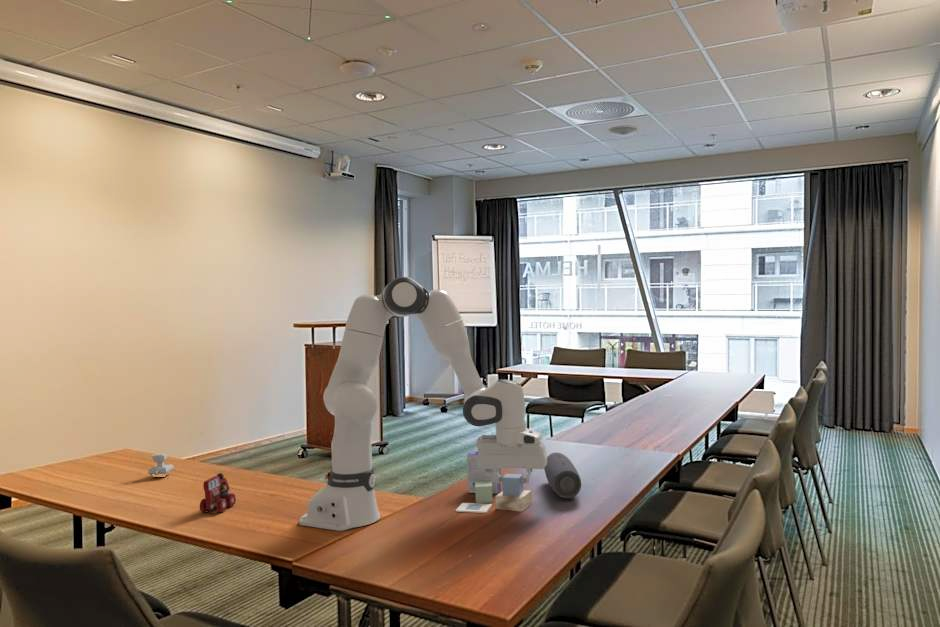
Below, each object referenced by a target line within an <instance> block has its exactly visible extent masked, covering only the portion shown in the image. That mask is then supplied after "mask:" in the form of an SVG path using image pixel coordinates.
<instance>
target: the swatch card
mask: <svg viewBox="0 0 940 627" xmlns="http://www.w3.org/2000/svg"><path fill="white" fill-rule="evenodd" d="M492 506H493V503H476V502H461V504H460V505H459V506H458V507H457V508H456V509H455V512H457V513H477V514H488V511H489V510H490V509H491V507H492Z"/></svg>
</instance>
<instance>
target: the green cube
mask: <svg viewBox="0 0 940 627" xmlns="http://www.w3.org/2000/svg"><path fill="white" fill-rule="evenodd" d="M474 494H475V503H481V504H493V503H494V502H493V500H494V498H493V493H492V481H489V482H475V493H474Z"/></svg>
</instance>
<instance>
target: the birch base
mask: <svg viewBox="0 0 940 627" xmlns="http://www.w3.org/2000/svg"><path fill="white" fill-rule="evenodd" d="M532 498H533V497H532V490H529V489H528V490H525V489H523V492H522V494H521V495H520V496H503V490H501V492H500V493H499V492H498V493H497V495H495V509H497V510H505V511H513V512H524V510H526V509H527V508H528V507H529V506H530V505H531V504H533V499H532Z"/></svg>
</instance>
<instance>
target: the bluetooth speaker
mask: <svg viewBox="0 0 940 627" xmlns="http://www.w3.org/2000/svg"><path fill="white" fill-rule="evenodd" d="M543 470H544V472H545V477H546V480H547V482H548V483H549V485H550V487H551V488H552V490H553V491H554V493H556V494H557V496H559V497H560V498H564V499H570V498H574V497H576V496H577V495H578V494H579V493H580V491H581V489H582V479H581V477H580V474H579V472H578V470H577V468H576V467H575V465H574V464H573V462H572V461H571V460H570V458H568V456H566V455H565V454H563V453H560V452H552V453H550V454H549V455H547V465H546V467H545V468H544V469H543Z"/></svg>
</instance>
